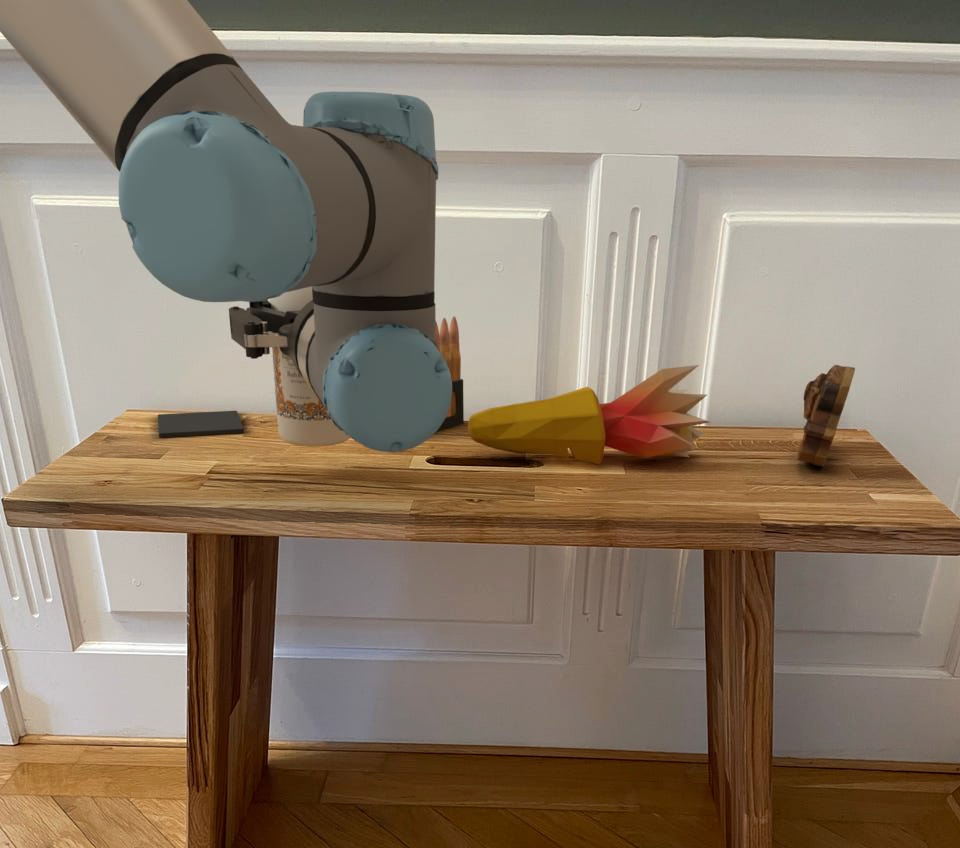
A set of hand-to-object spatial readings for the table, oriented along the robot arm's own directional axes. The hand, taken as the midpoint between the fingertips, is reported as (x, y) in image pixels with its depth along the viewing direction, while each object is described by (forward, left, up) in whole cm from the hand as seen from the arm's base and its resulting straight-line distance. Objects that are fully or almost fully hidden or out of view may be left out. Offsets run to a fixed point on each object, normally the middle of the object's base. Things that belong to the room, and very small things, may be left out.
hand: (301, 309), depth 86 cm
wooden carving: (+51, -13, -15) cm, 55 cm away
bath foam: (0, -5, -11) cm, 12 cm away
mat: (-10, +17, -15) cm, 24 cm away
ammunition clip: (+15, +9, -15) cm, 23 cm away
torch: (+28, -6, -15) cm, 32 cm away
